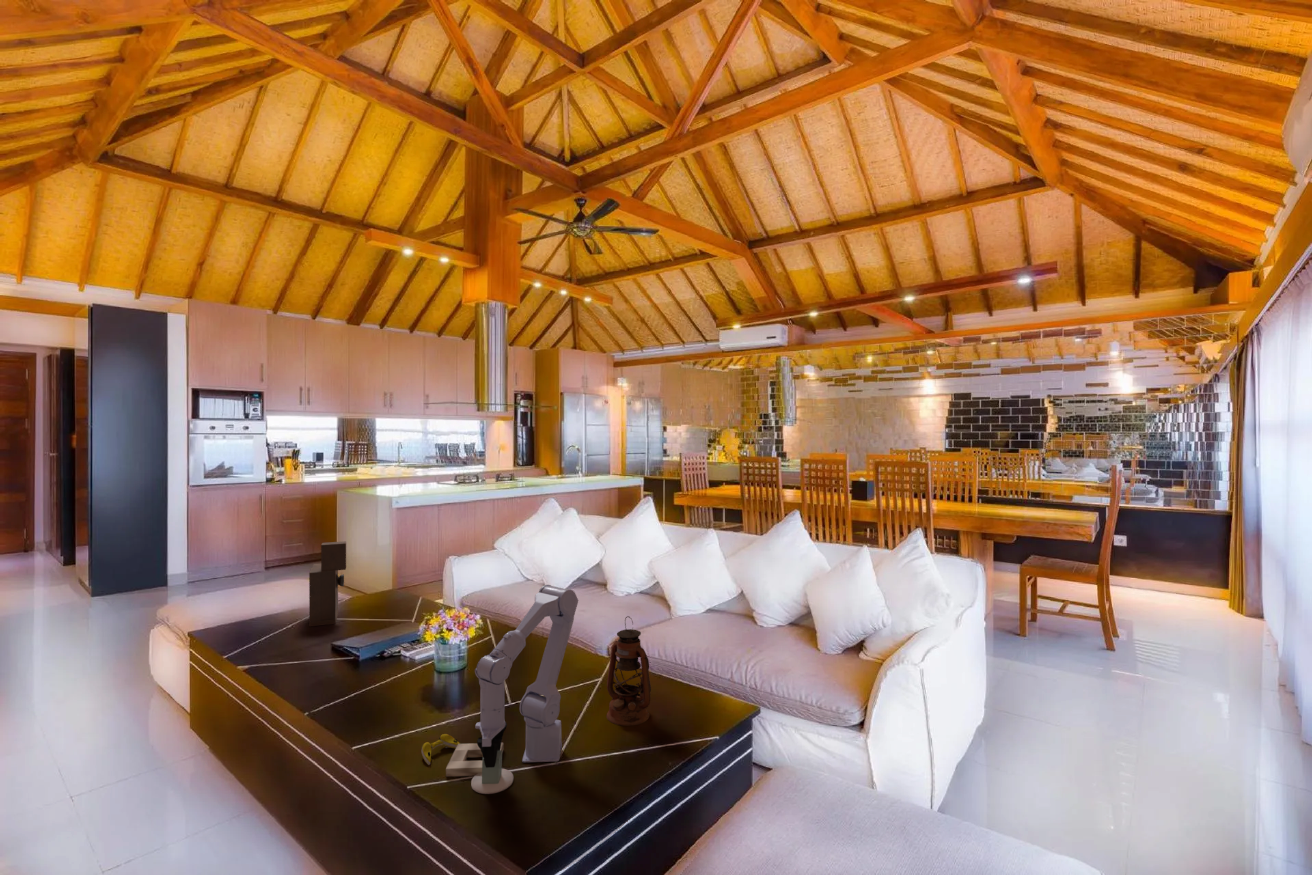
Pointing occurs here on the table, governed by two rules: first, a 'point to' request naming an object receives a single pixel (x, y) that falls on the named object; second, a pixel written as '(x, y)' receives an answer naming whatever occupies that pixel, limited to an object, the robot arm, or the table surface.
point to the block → (492, 771)
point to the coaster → (492, 788)
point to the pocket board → (459, 763)
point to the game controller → (443, 740)
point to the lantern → (626, 698)
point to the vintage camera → (326, 584)
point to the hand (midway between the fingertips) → (492, 760)
